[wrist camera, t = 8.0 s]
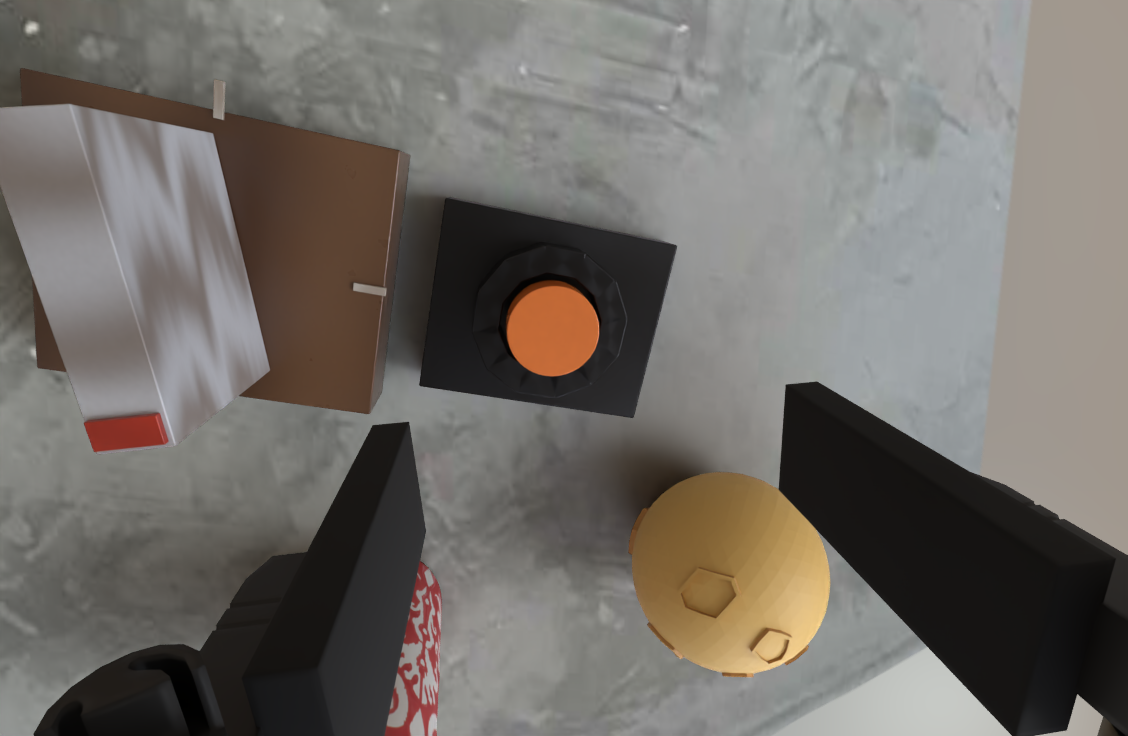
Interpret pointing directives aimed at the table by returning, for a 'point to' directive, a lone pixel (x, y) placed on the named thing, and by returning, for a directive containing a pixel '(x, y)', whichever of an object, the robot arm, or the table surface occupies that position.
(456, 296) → the button housing
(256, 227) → the plate
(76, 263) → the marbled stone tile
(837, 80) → the table surface
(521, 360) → the button
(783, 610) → the stress ball
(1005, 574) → the robot arm
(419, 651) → the mug
